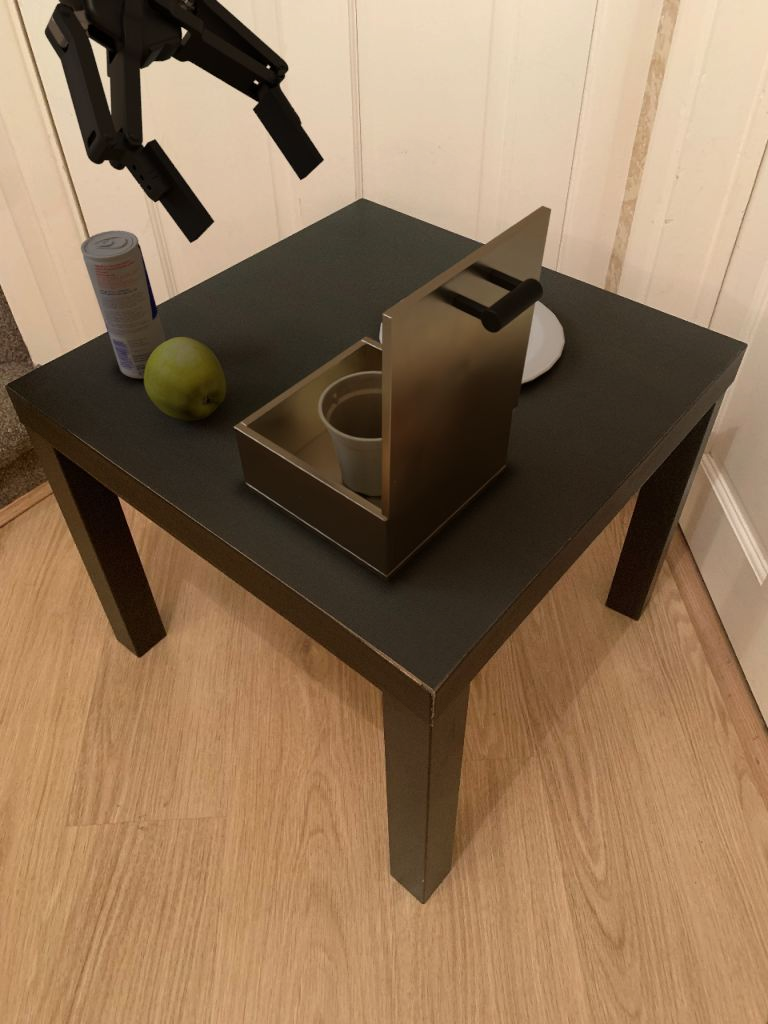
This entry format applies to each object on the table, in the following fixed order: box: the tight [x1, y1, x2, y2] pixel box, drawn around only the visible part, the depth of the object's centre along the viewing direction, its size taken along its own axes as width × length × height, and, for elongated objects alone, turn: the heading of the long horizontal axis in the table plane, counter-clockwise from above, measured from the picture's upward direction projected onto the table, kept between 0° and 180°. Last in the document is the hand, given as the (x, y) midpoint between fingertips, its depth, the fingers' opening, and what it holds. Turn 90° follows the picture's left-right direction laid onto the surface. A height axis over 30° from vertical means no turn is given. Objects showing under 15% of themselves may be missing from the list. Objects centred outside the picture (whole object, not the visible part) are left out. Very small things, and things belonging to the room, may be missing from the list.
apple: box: [143, 336, 227, 421], centre depth 81 cm, size 8×9×8 cm
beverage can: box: [80, 230, 167, 380], centre depth 83 cm, size 6×6×15 cm
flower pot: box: [318, 371, 382, 496], centre depth 72 cm, size 9×9×9 cm
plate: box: [378, 299, 566, 386], centre depth 90 cm, size 21×21×2 cm
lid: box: [381, 205, 552, 519], centre depth 58 cm, size 18×18×5 cm
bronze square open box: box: [233, 336, 514, 582], centre depth 73 cm, size 18×18×8 cm
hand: (261, 199), depth 61 cm, fingers open, 13 cm apart
